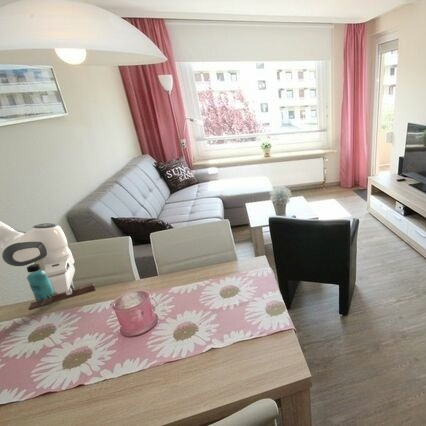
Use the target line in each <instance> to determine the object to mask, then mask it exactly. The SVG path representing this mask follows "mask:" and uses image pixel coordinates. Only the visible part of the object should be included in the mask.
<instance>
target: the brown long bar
mask: <svg viewBox="0 0 426 426" xmlns="http://www.w3.org/2000/svg"><path fill="white" fill-rule="evenodd" d="M96 291H97V287H96V284H95V282H91V283H88V284H84V285H80V286H77V287H74V288H72V294H70V295H66V292H64V293H60V294H57V293H56V292H55V293H54V294H52V295H51V298H48V299H44V300H40V301H37V300H35V301H32V302H30V304H29V307H28V309H27V310H29V311H32V310H35V309H39V308H42V307H43V306H44V307H47V306H46V305H48V306H50V305H53V304H54V303H56V302H61V301H63V300H68V299H71V298H75V297H77V296H81V295H85V294H89V293H93V292H96ZM53 302H54V303H53ZM49 304H50V305H49Z"/></svg>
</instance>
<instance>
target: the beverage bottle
mask: <svg viewBox="0 0 426 426" xmlns="http://www.w3.org/2000/svg"><path fill="white" fill-rule="evenodd" d="M41 269H42V267H41V266H40V264H39V263H34V264H33V263H32V264H29V265H27V267H26V271H27V273H29V274H28V275H27V276H26V280H27V282H28V284H29V287H30V290H31V291H32V294H33V296H34V299H35V301H40V300H44V299H48V298H51V295H52V294H54V293H56V292H55V291H54V289H53V287H52V285H51V283H50V281H49V276H48V277H46V276H45V273H44V271H45V270H41ZM54 303H55V302H53V304H54ZM47 306H51V304H49V305H46V306H43V307H47Z"/></svg>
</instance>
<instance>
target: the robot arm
mask: <svg viewBox="0 0 426 426" xmlns="http://www.w3.org/2000/svg"><path fill="white" fill-rule="evenodd" d="M31 227H32V228H30V229H29V230H28V231H23V230H19V229H16V228H13V227H11V226H9V225H8V224H6V223H4V222H3V221H1V220H0V248H1V257H2V260H3V261H4V263H6V264H7V265H10V266H11V267H25V266H29V265H32V264H33V263H35V262H39V261H40V260H41V261H42V263H43V267H44V270H43V271H44V273H45V276H46V277H48V278H49V281H50V283H51V285H52V287H53V290H54V292H55V293H57V294H60V293H64V292H66V295H70V294H72V288H75V287H74V282H73V280H74V279H73V278H74V275H75V272H76V268H75V266H74V263H75V259H74V256H73V254H72V250H71V249H70V248H69V246H68V239H67V236H66V235H65V232H64V230H63V229H62V227H61V226H60V225H59V224H56V223H51V222H50V223H49V222H48V223H47V222H46V223H45V222H44V223H38V224H35V225H33V226H31Z"/></svg>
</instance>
